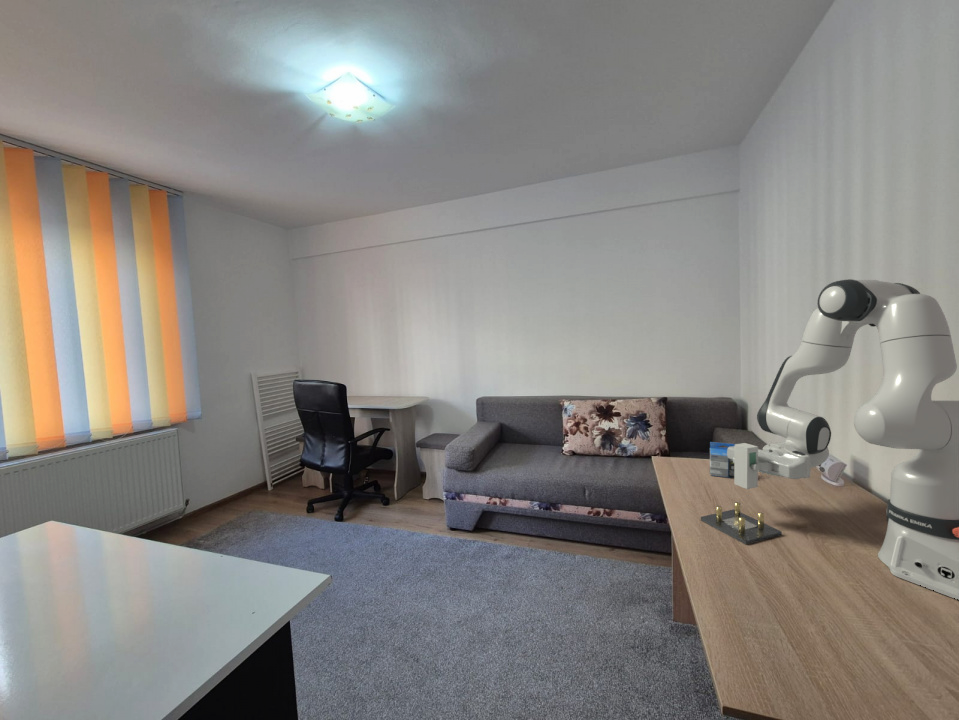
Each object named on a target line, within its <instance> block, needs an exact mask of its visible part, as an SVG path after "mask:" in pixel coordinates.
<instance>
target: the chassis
mask: <svg viewBox="0 0 959 720" xmlns="http://www.w3.org/2000/svg"><path fill="white" fill-rule="evenodd" d="M700 521H702V522H704V523H705V524H707V525H709V526H711V527H712V528H714V529H716V530H718V531H720V532H721V533H723V534H725V535H728V536H729V537H731V538H733V539H735V540H736V541H738V542H740V543H742V544H744V545H749V544H754V543H757V542H761V541H764V540H768V539H772V538H776V537H779V536H783V533H782V530H780V529H777V528H775V527H773V526H771V525H769V524H767V523H765V513H764V512H757V519H756V518H753V517H751V516H750V515H748V514H745V513H743V512H741V503H740V502H738V501H734V509H733V508H732V509H729V510H724V511H723V508H722V506H720V505H717V506H715V513H713V514H712V513H711V514H708V515H703V516H700Z"/></svg>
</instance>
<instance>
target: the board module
mask: <svg viewBox="0 0 959 720" xmlns="http://www.w3.org/2000/svg"><path fill="white" fill-rule="evenodd" d="M734 444H735V450H734V478H733V479H734V480H733V481H734V485H736V486H738V487H741V488H743V489H746V490H750V489H757V488H758V487H759V485H758V484H759V482H758V481H759V480H758V479H759V477H758V475H759V470H758V471H755V470H753V469H751V468H750V467H751V466H750V464H751V463H758V449H759V446H757V445H753V444H750V443H745V442H743V443H734Z"/></svg>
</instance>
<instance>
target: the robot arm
mask: <svg viewBox="0 0 959 720" xmlns="http://www.w3.org/2000/svg"><path fill="white" fill-rule="evenodd" d="M944 313H945V312H943V309H942V307H941V305H940V303H939V302H938V300H937V299H936V298H935V297H932V296H930V295H927V294H922V293H921V292H920V291H919V290H918V289H917V288H915V287H913V286H911V285H909V284H904V283H899V282H888V281H882V280H881V281H880V280H876V279H852V278H850V279H840V280H836V281H833V282H831V283H829V284H827V285H826V286H825V287H824V288H822V290H821V291H820V293H819V295H818V297H817V308H816V309H815V310H813V312H812V313H811V315H810V317H809V319H808V321H807V323H806V326H805V329H804V331H803V334H802V338H801V342H800V344H799V347H798V348H797V350H796V351H795V353H794V354H793V355H789V356H787V357H786V359H784V361H783V362H782V364H781V366H780V368H779V370H778V371H777V374H776V375H775V378H774V381H773V383H772V385H771V387H770V389H769V391H768V394H767V396H766V398H765V400H764V402H763V403H762V405H761V407H759V410H758V412H757V414H756V420H757V424H758V425H759V427H760V429H761V430H763V431H764V432H767V433H770V434H772V435H776V436H777V435H778V436H780V437H782V438H784V439H785V441H781V442H772V443H769V444H768V443H767V444H765V445H764V446H763V447H762V449H760V448H758V463H751V464H750V466H751V467H750V468H751V469H753V470H755V471H758V472H759V470H763V471H768V472H771V473H774V474H777V475H780V476H783V477H782V478H785V479H786V478H787V479H791V480H799V479H809V478H810V477H811V472H812V471H811V469H813V468H816V467H818V466H820V465H822V464H824V463H825V462H826V461H827V460H828V459H829V455H830V450H829V447H828V446H829V444H830V442H831V439H832V430H831V427H830V425H829V422H828V421H827V420H826V418H825V417H823V416H820V415H817V414H815V413H814V414H813V413H811V412H808V411H803V410H801V409H798V408H794V407H792V406H789V404H788V401H789V399H790V397H791V394H792V392H793V390H794V388H795V386H796V384H797V382H798V381H799V380H800V379H802V378H803V377H806V376H807V377H808V376H815V375H825V374H831V373H832V372H836V371H839V369H840V370H841V369H842V368H843V367H844V366H846V364H847V363H848V360H849V359H850V356H851V352H852V349H853V345H854V339H855V337H856V334H857V331H858V330H860V329H861V328H862V327H864V326H866V325H868V326H870V327H876V328H877V332H878V336H879V337H878V338H879V345H880V353H881V359H882V360H881V362H882V380H881V383H880V386H879V388H878V390H877V391H876V393H875V394H874V395H873V396H872V397H871V398H870V399H869V400H868V401H867V402H865V403H863V404H862V405H861V406H859V407H858V408H857V410H856V411H855V413H854V415H853V416H854V417H853V426H854V430H855V431H856V432H857V434H858V436H860V438H861V439H862V440H863V441H865V442H867V443H868V444H871V445H876V446H880V447H885V448H886V447H887V448H891V449H899V450H901V449H903V450H918V451H917V452H916V454H915V455H914V456H913V457H912V458H910V459H908V460H905V461H903V462H902V463H899V464H897V465H896V466H895V467H894V468H893V469H892V470H891V473H890V493H889V494H890V495H889V496H890V497H889V499H888V500H887V502H886V503H887V504H886V521H887V526H886V527H887V528H886V532H885V536H884V540H883V542H882V544H881V547H880V549H879V551H878V553H877V556H878V558H879V560H880V561H881V562H882V563H883V564H884V565H885V566H887V568H888V569H889V571H890V573H891V574H892V575H893V576H895V577H897V578H900V579H902V580H905V581H907V582H911V583H913V584H915V585H918V586H920V585H921V587H924V588H925V587H926V589H929V590H931V591H933V590H934V592H937V593H939V594H940V595H941V594H942V595H944V596H947V597H950V598H952V599H954V598H955V599H954V600H957V599H958V601H959V400H932V392H933V389H934V388H935V386H936V385H937V384H940V383H942V382H944V381H946V380H948V379H950V378H951V377H953V376H954V374H955V373H956V372H957V370H958V365H957V360H956V354H955V350H954V344H953V339H952V335H951V331H950V326H949V324H948V321H947V318H946V316H945V314H944ZM734 450H735V446H731V447H728V449H727V456H728V458H729V459H732V460H733V463H734ZM780 476H779V477H780Z"/></svg>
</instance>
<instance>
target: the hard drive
mask: <svg viewBox="0 0 959 720" xmlns="http://www.w3.org/2000/svg"><path fill="white" fill-rule="evenodd" d="M759 472H762V473H761V474H764V473H767V474H766V475H769V474H771V475H770V476H775V475H776V476H775V477H780V475H777V474H774V473H771V472H768V471H763V470H758V473H759ZM781 477H782V478H784V477H783V476H781Z"/></svg>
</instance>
